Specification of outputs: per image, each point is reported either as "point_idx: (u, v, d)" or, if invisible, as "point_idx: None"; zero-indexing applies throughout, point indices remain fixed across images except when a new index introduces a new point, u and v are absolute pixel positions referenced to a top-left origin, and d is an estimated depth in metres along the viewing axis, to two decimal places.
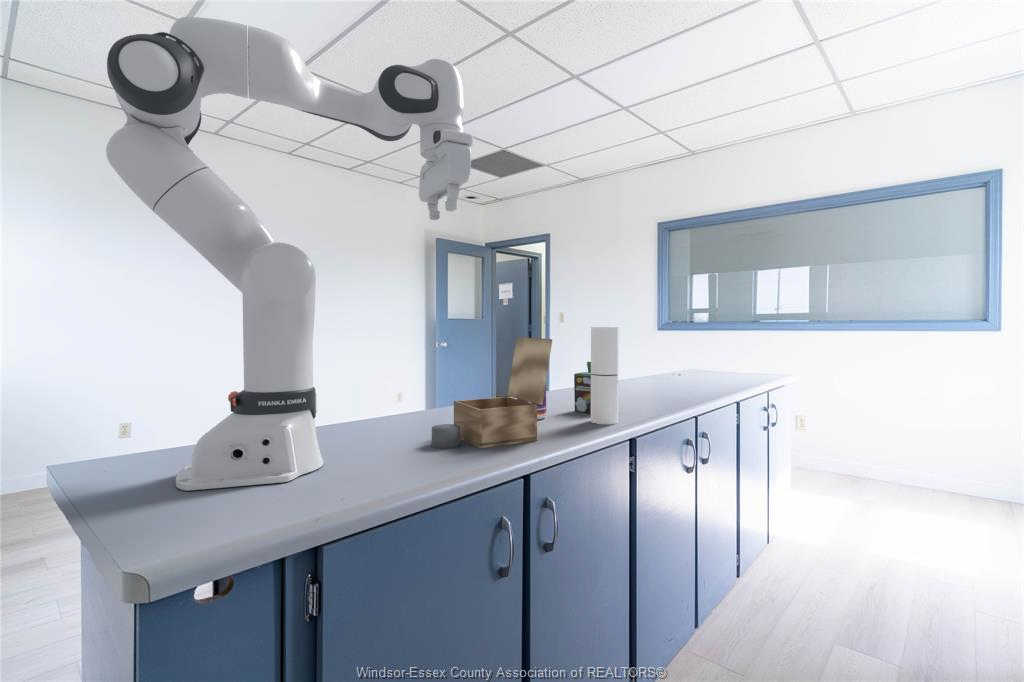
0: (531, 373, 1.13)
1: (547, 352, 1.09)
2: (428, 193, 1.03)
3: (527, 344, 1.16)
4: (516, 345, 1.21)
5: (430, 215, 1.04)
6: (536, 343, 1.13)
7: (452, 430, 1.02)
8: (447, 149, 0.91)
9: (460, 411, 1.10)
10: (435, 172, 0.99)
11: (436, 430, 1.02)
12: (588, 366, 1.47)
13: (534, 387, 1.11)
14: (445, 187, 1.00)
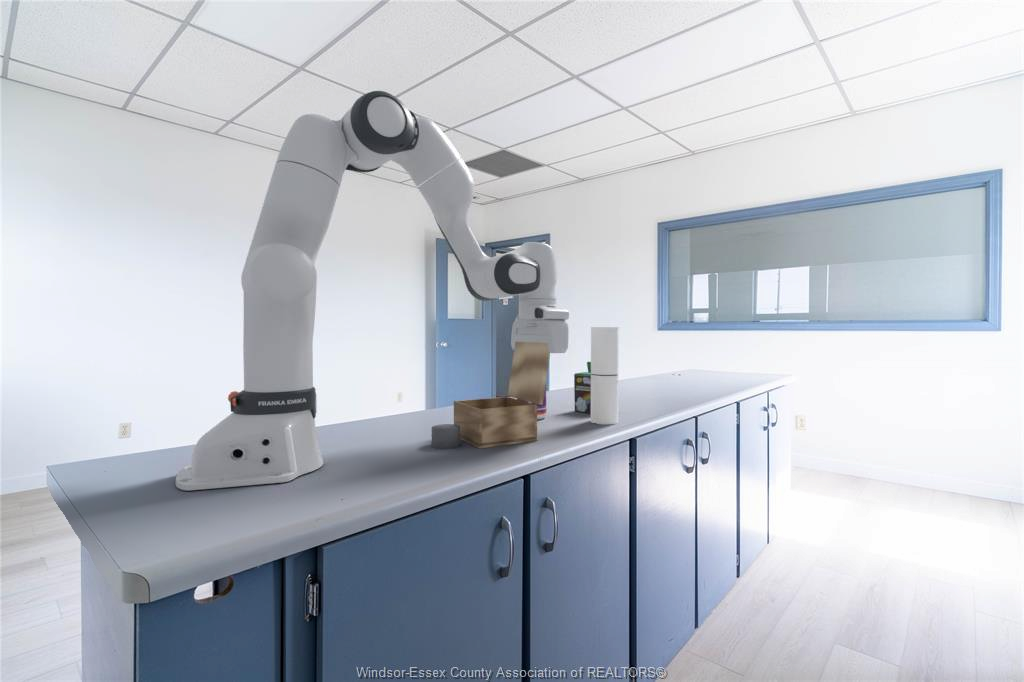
0: (531, 373, 1.13)
1: (547, 352, 1.09)
2: None
3: (527, 344, 1.16)
4: (516, 345, 1.21)
5: None
6: (536, 343, 1.13)
7: (452, 430, 1.02)
8: (549, 328, 1.07)
9: (460, 411, 1.10)
10: (533, 337, 1.14)
11: (436, 430, 1.02)
12: (588, 366, 1.47)
13: (534, 387, 1.11)
14: None
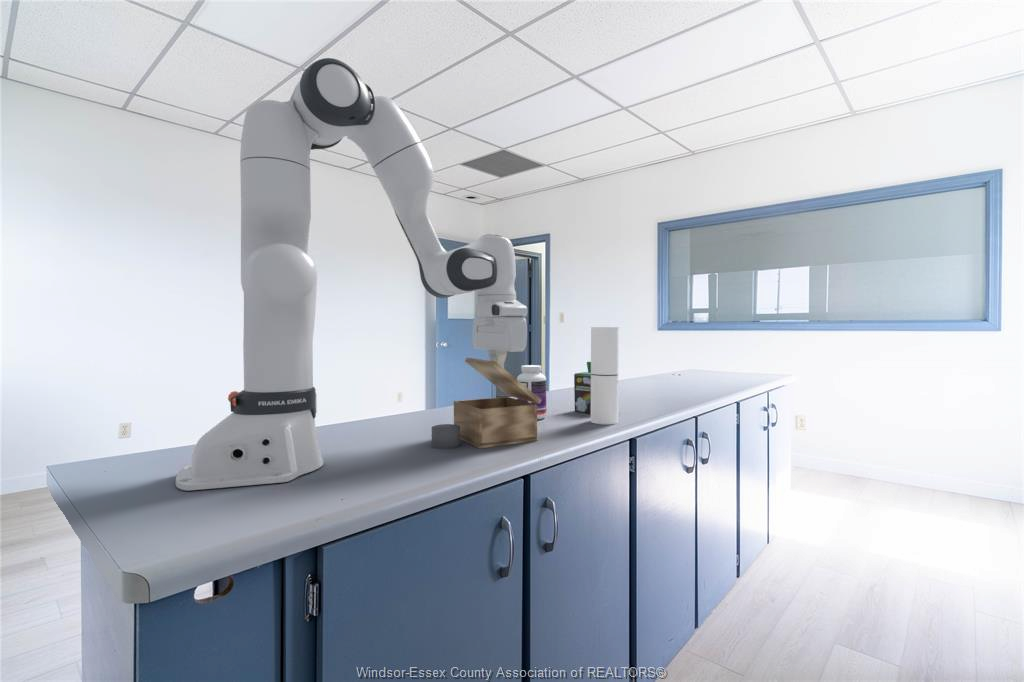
0: (508, 385, 1.10)
1: (503, 372, 1.04)
2: (483, 347, 1.13)
3: (480, 366, 1.11)
4: None
5: None
6: (486, 367, 1.07)
7: (452, 430, 1.02)
8: (506, 325, 1.02)
9: (460, 411, 1.10)
10: (492, 334, 1.09)
11: (436, 430, 1.02)
12: (588, 366, 1.47)
13: (522, 393, 1.09)
14: None
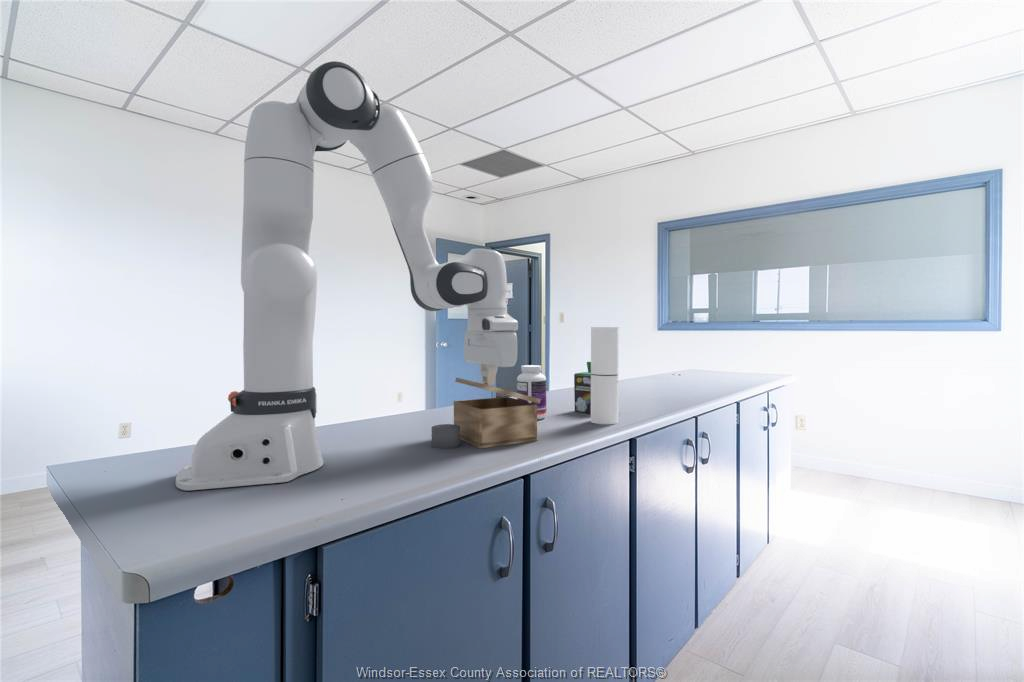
0: None
1: (494, 390, 1.03)
2: (474, 361, 1.12)
3: None
4: None
5: (483, 380, 1.10)
6: None
7: (452, 430, 1.02)
8: (496, 340, 1.01)
9: (460, 411, 1.10)
10: (483, 349, 1.08)
11: (436, 430, 1.02)
12: (588, 366, 1.47)
13: None
14: None
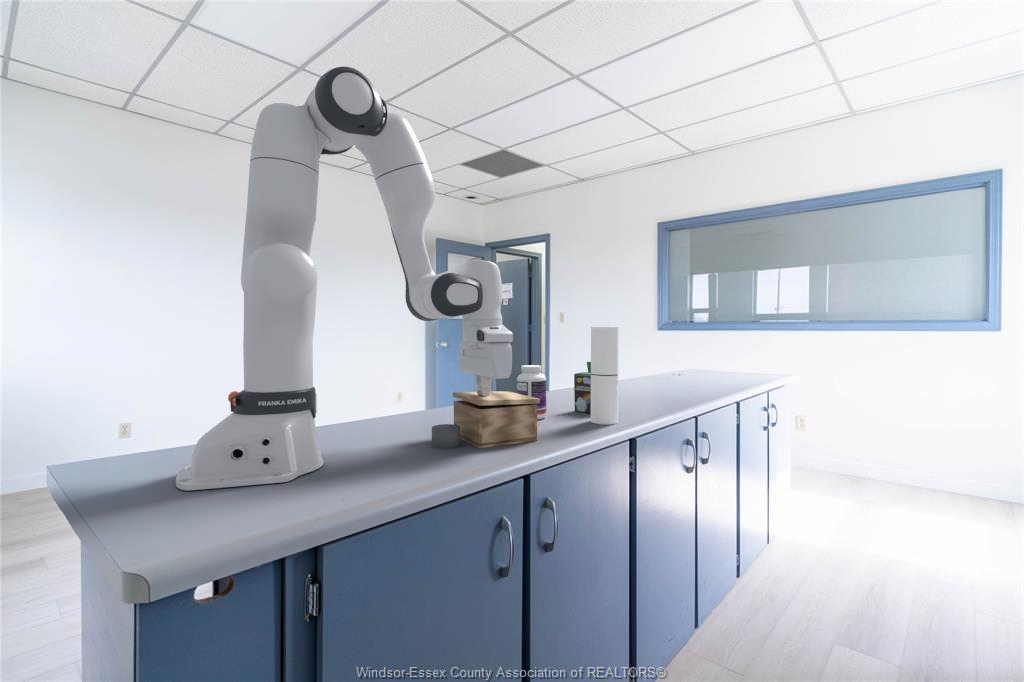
0: None
1: (492, 403, 1.03)
2: (469, 371, 1.12)
3: None
4: None
5: (478, 391, 1.10)
6: None
7: (452, 430, 1.02)
8: (491, 352, 1.00)
9: (460, 411, 1.10)
10: (477, 360, 1.07)
11: (436, 430, 1.02)
12: (588, 366, 1.47)
13: None
14: None
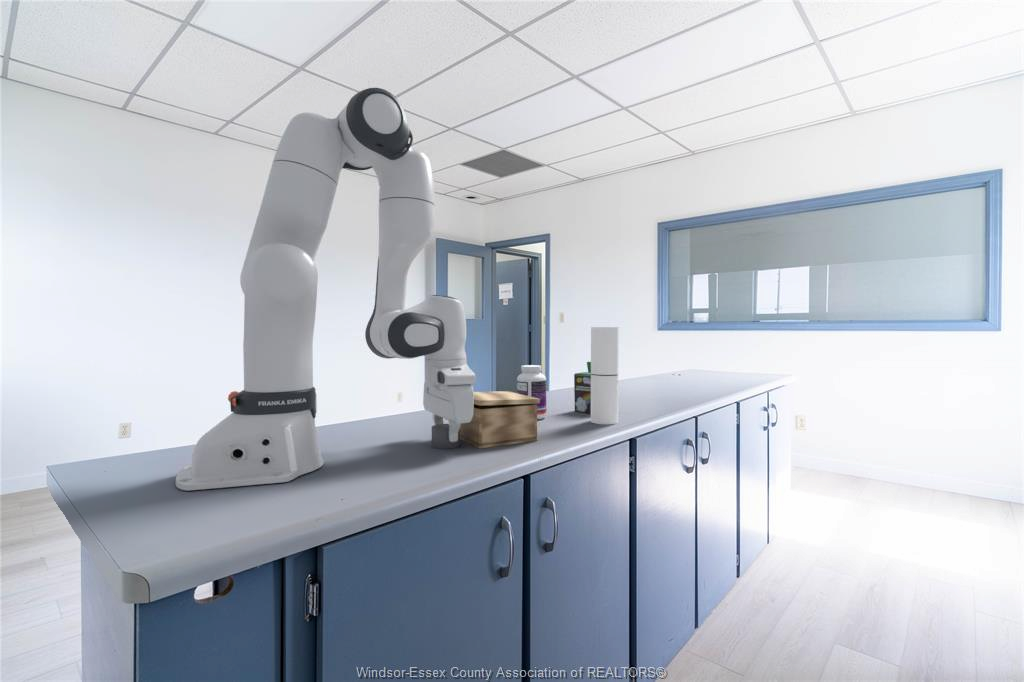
0: None
1: (492, 403, 1.03)
2: (432, 412, 1.06)
3: None
4: None
5: None
6: None
7: None
8: (451, 396, 0.95)
9: None
10: (439, 401, 1.02)
11: (436, 430, 1.02)
12: (588, 366, 1.47)
13: None
14: None
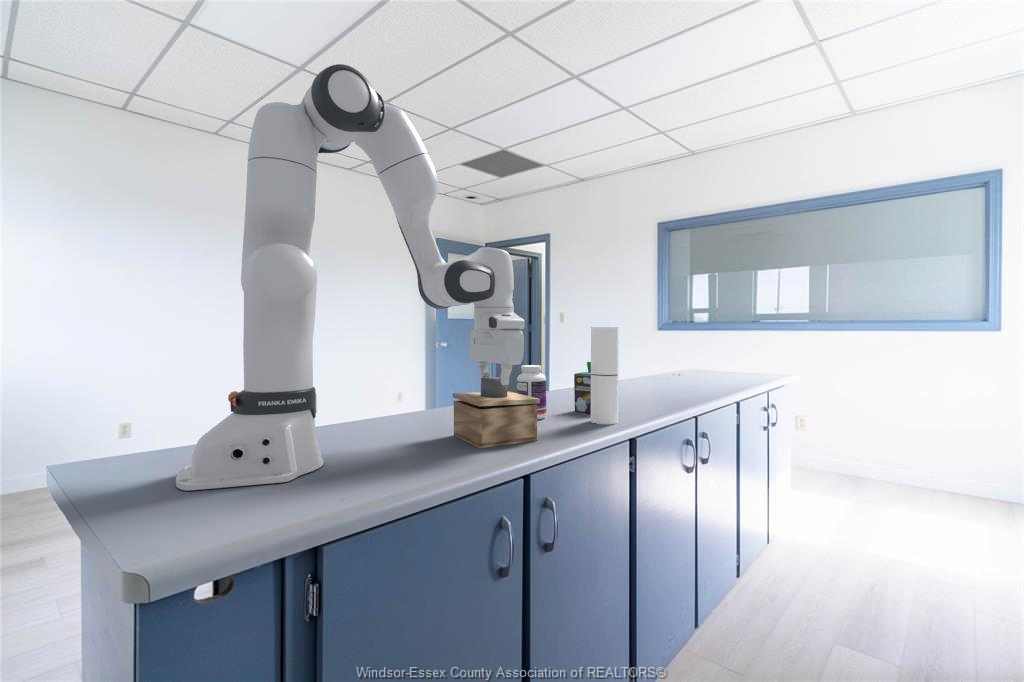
0: None
1: (492, 404, 1.03)
2: (480, 359, 1.13)
3: None
4: None
5: (481, 377, 1.15)
6: None
7: None
8: (503, 338, 1.01)
9: (460, 411, 1.10)
10: (489, 347, 1.09)
11: (486, 380, 1.08)
12: (588, 366, 1.47)
13: None
14: None
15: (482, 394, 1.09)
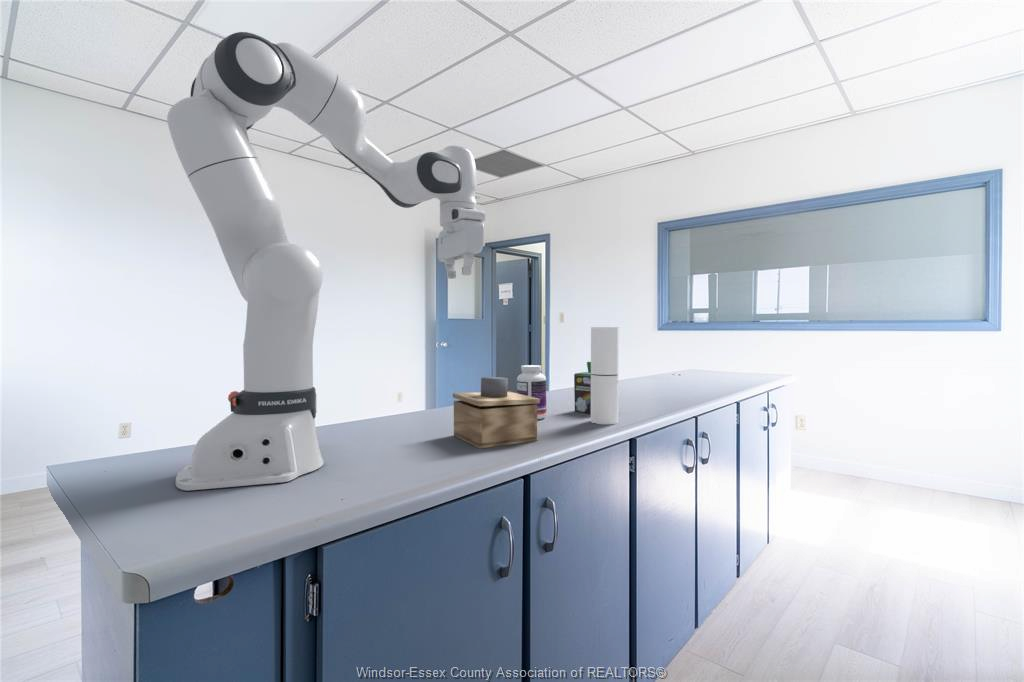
0: None
1: (492, 404, 1.03)
2: (446, 256, 1.20)
3: None
4: None
5: (447, 275, 1.22)
6: None
7: (501, 380, 1.08)
8: (464, 226, 1.08)
9: (460, 411, 1.10)
10: (453, 241, 1.16)
11: (486, 379, 1.08)
12: (588, 366, 1.47)
13: None
14: None
15: (482, 394, 1.09)
